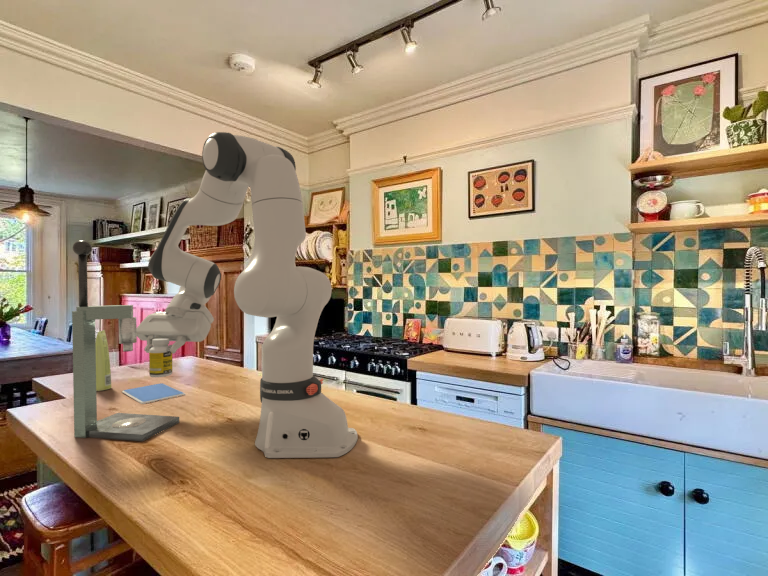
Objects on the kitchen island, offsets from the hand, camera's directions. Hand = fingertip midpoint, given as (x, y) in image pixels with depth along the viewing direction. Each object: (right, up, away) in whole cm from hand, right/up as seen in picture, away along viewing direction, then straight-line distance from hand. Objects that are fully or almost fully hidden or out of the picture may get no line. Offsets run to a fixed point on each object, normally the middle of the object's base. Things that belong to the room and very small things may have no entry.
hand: (159, 352), depth 106 cm
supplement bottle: (0, -7, +1) cm, 7 cm away
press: (-2, -17, -10) cm, 20 cm away
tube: (-34, -17, +27) cm, 46 cm away
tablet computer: (-14, -17, +21) cm, 30 cm away
